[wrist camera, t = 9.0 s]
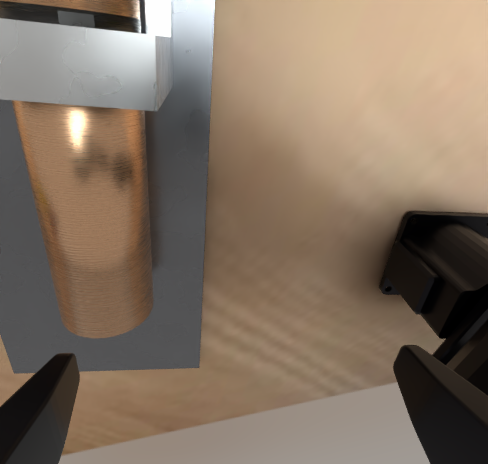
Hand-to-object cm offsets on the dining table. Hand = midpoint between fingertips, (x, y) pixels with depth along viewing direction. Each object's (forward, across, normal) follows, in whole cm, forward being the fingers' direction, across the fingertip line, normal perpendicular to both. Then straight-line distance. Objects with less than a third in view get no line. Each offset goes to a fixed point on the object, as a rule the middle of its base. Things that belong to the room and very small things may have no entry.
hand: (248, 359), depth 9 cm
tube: (+11, +7, -3) cm, 13 cm away
